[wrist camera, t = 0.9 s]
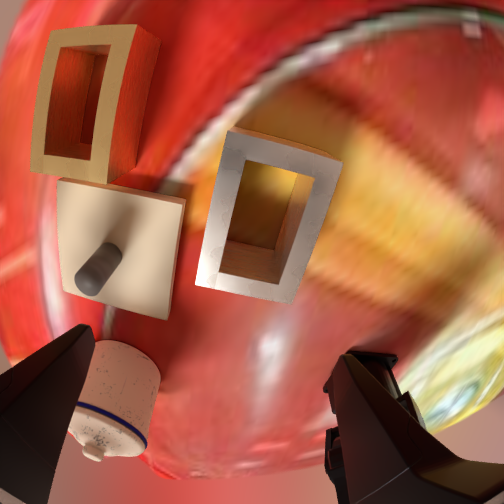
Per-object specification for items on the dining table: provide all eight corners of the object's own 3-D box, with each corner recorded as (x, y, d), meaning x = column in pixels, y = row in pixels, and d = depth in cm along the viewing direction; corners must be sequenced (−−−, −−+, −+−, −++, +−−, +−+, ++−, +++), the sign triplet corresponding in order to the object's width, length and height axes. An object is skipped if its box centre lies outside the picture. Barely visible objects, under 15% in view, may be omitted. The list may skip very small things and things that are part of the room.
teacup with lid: (73, 338, 26) (27, 422, 16) (140, 333, 25) (101, 439, 15) (123, 403, 32) (101, 479, 21) (186, 404, 31) (172, 491, 20)
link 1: (86, 40, 14) (51, 30, 10) (161, 40, 14) (137, 24, 10) (66, 157, 18) (30, 171, 14) (135, 167, 18) (106, 184, 14)
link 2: (233, 126, 17) (227, 130, 13) (323, 150, 18) (343, 162, 14) (205, 250, 21) (195, 284, 17) (284, 267, 22) (291, 304, 18)
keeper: (186, 199, 19) (166, 229, 15) (170, 311, 24) (155, 355, 19) (65, 176, 18) (23, 197, 14) (69, 283, 23) (41, 318, 18)
